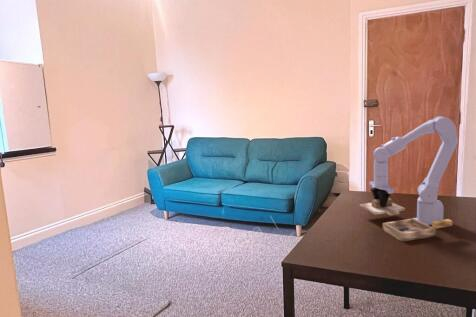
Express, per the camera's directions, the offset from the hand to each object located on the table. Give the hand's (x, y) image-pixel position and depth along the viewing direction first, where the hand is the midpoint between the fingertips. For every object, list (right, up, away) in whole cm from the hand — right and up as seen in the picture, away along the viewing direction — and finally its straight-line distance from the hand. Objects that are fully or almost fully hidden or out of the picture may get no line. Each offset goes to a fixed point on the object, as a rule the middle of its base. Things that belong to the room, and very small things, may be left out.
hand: (380, 205), depth 149 cm
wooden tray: (+4, -9, -16) cm, 18 cm away
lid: (+1, -2, -1) cm, 2 cm away
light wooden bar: (+13, -5, -22) cm, 26 cm away
